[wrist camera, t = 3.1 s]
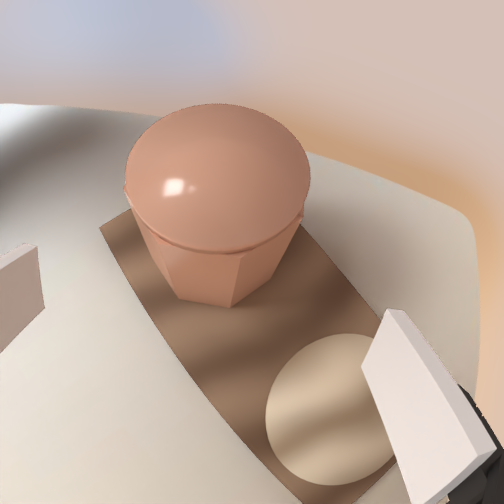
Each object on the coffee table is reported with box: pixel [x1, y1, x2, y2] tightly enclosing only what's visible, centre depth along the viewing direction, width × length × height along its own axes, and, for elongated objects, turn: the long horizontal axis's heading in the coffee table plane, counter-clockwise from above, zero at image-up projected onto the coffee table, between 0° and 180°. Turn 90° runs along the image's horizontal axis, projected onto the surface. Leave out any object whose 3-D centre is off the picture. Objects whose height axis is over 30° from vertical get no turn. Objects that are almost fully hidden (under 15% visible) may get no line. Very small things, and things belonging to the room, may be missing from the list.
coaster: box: [265, 334, 394, 485], centre depth 19 cm, size 12×12×1 cm
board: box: [100, 209, 397, 504], centre depth 22 cm, size 30×14×1 cm, turn 38°
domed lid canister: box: [123, 104, 310, 308], centre depth 19 cm, size 9×9×10 cm
